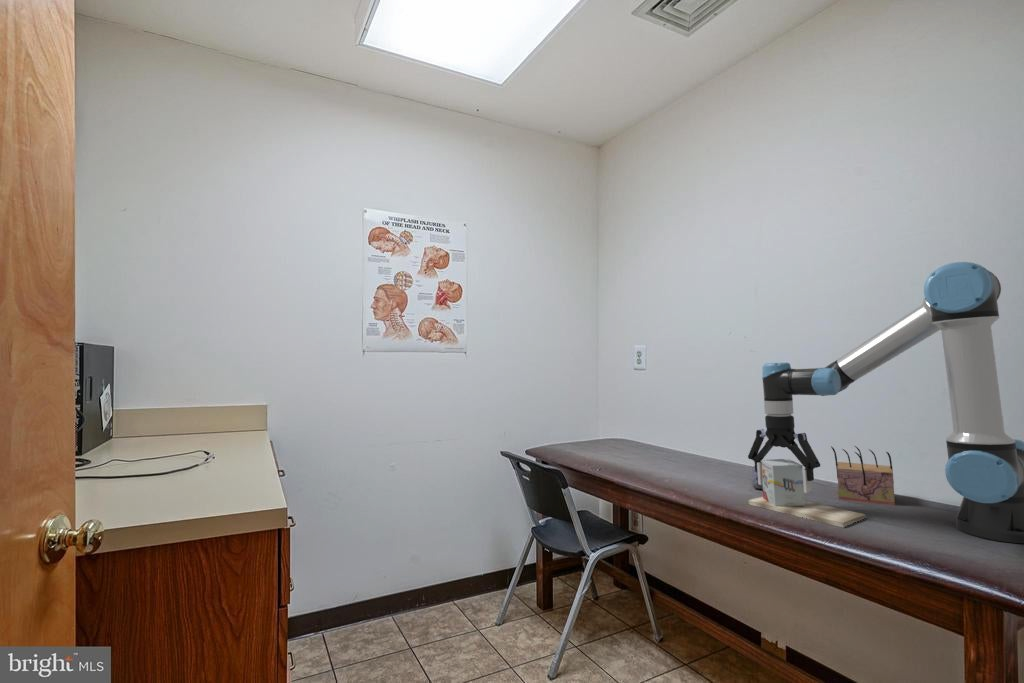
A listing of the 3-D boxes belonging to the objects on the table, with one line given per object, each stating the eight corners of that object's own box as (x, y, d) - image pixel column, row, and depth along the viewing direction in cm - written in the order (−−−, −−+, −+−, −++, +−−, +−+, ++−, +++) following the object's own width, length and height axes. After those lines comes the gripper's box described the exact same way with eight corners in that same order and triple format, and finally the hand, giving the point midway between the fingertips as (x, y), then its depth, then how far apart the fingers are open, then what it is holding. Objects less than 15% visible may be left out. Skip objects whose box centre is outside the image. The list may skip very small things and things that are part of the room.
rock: (792, 484, 162) (773, 456, 165) (762, 499, 163) (744, 470, 167) (786, 484, 172) (768, 457, 175) (757, 497, 173) (740, 470, 177)
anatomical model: (893, 496, 155) (891, 447, 156) (896, 505, 146) (893, 453, 146) (833, 490, 164) (831, 444, 165) (832, 498, 155) (830, 449, 155)
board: (865, 518, 135) (865, 514, 135) (843, 527, 128) (842, 522, 128) (771, 497, 157) (771, 493, 157) (748, 504, 150) (748, 500, 151)
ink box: (762, 498, 152) (760, 458, 153) (791, 498, 152) (789, 458, 152) (774, 506, 144) (772, 464, 144) (805, 506, 143) (803, 464, 143)
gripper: (830, 416, 140) (836, 493, 139) (747, 411, 161) (752, 479, 160) (816, 418, 136) (822, 498, 135) (733, 413, 157) (737, 482, 156)
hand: (784, 488), depth 148 cm, fingers open, 13 cm apart
